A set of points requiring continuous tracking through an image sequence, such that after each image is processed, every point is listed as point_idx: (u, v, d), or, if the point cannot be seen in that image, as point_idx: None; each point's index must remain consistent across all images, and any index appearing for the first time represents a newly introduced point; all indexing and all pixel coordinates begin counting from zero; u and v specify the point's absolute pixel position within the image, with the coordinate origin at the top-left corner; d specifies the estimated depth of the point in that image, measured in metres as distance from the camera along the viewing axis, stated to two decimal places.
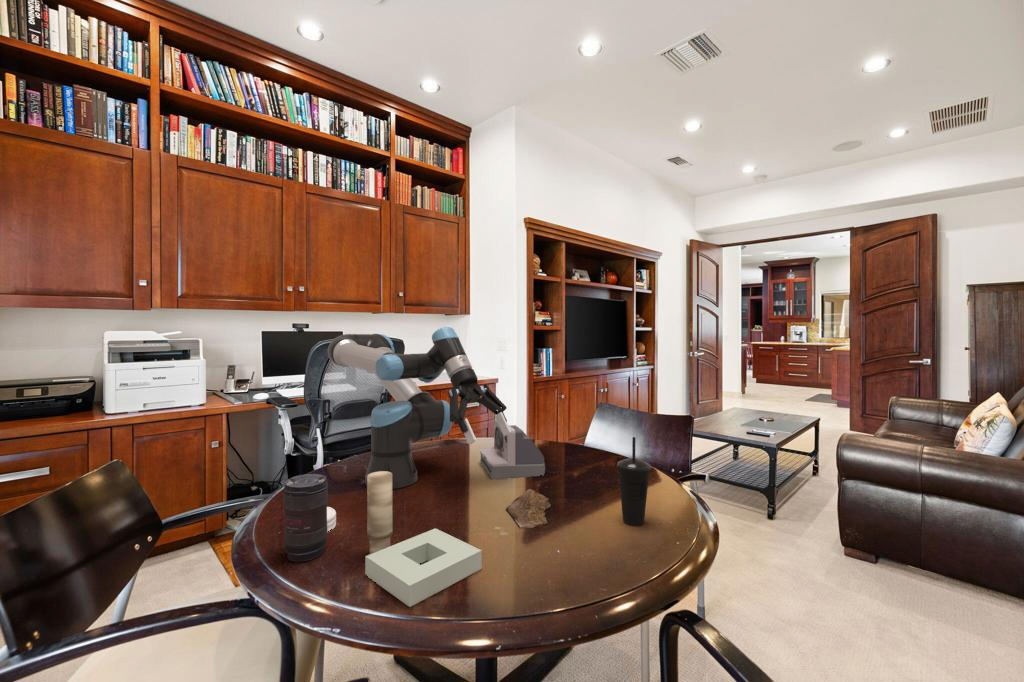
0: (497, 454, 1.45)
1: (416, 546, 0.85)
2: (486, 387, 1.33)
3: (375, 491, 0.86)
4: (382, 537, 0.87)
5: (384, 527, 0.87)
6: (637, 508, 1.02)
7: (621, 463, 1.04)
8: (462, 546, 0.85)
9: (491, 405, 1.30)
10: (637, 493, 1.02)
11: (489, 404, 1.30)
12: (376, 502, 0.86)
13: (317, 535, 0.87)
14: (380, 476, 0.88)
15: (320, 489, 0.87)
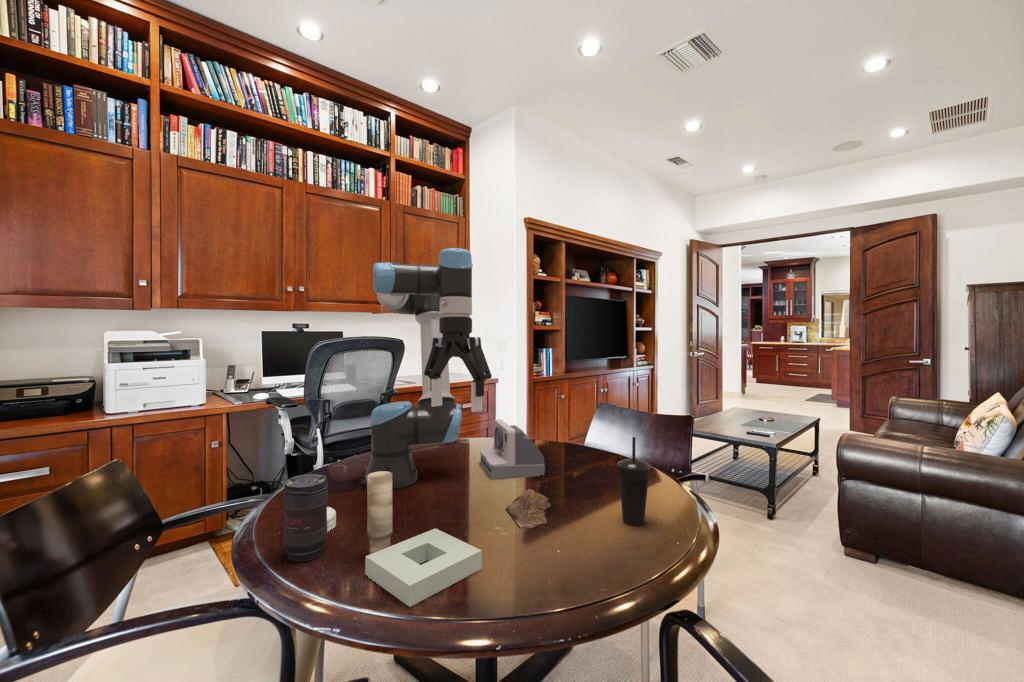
0: (497, 454, 1.45)
1: (416, 546, 0.85)
2: (470, 342, 0.98)
3: (375, 491, 0.86)
4: (382, 537, 0.87)
5: (384, 527, 0.87)
6: (637, 508, 1.02)
7: (621, 463, 1.04)
8: (462, 546, 0.85)
9: None
10: (637, 493, 1.02)
11: None
12: (376, 502, 0.86)
13: (317, 536, 0.87)
14: (380, 476, 0.88)
15: (320, 489, 0.87)
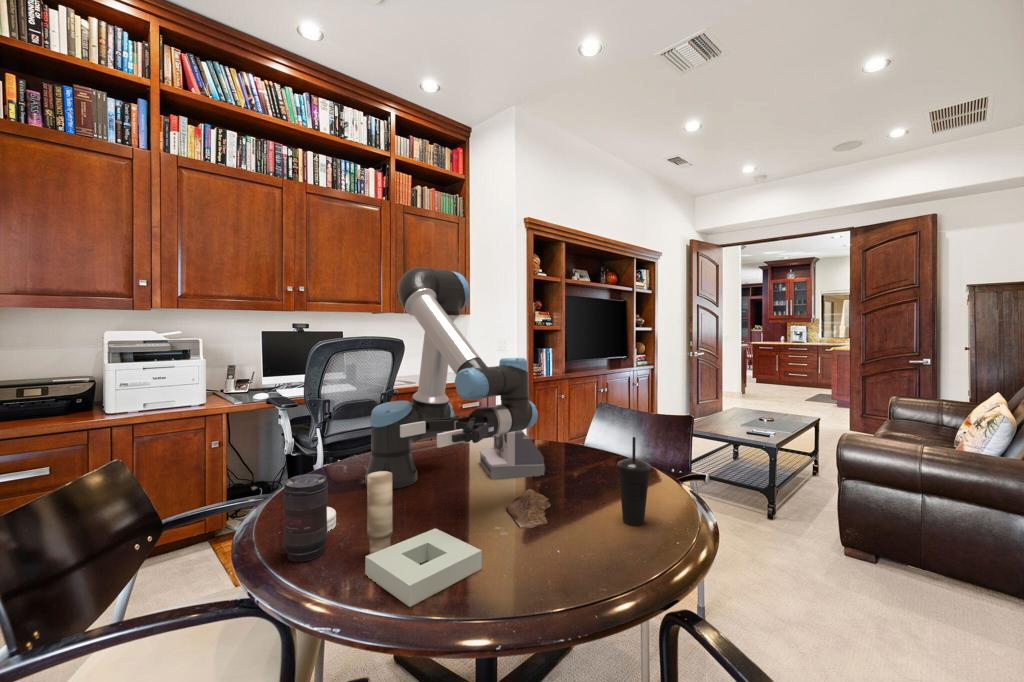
0: (497, 454, 1.45)
1: (416, 546, 0.85)
2: None
3: (375, 491, 0.86)
4: (382, 537, 0.87)
5: (384, 527, 0.87)
6: (637, 508, 1.02)
7: (621, 463, 1.04)
8: (462, 546, 0.85)
9: (438, 428, 1.06)
10: (637, 493, 1.02)
11: (441, 428, 1.06)
12: (376, 502, 0.86)
13: (317, 536, 0.87)
14: (380, 476, 0.88)
15: (320, 489, 0.87)
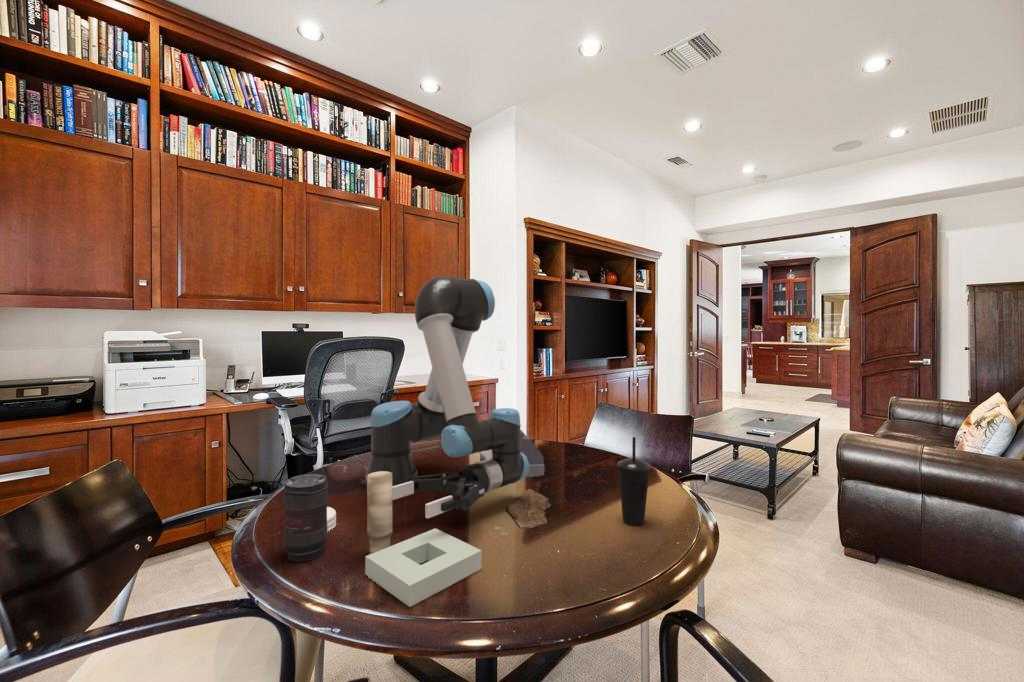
0: None
1: (416, 546, 0.85)
2: None
3: (375, 491, 0.86)
4: (382, 537, 0.87)
5: (384, 527, 0.87)
6: (637, 508, 1.02)
7: (621, 463, 1.04)
8: (462, 546, 0.85)
9: (427, 488, 1.03)
10: (637, 493, 1.02)
11: (430, 487, 1.03)
12: (376, 502, 0.86)
13: (317, 536, 0.87)
14: (380, 476, 0.88)
15: (320, 489, 0.87)
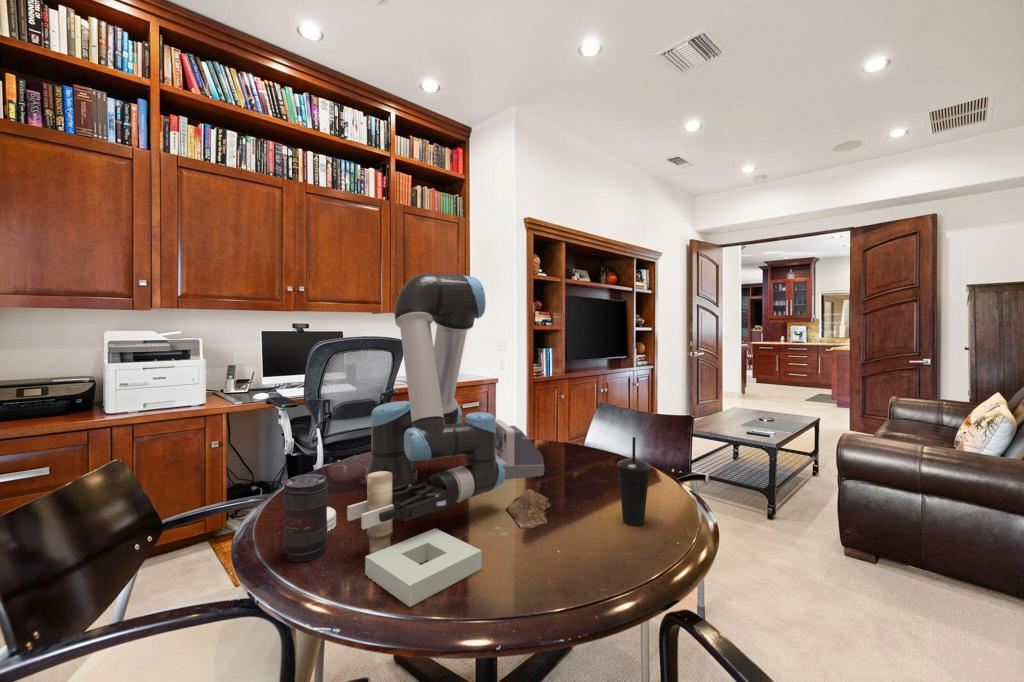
0: (496, 454, 1.45)
1: (416, 546, 0.85)
2: None
3: (375, 490, 0.86)
4: (382, 537, 0.87)
5: (384, 527, 0.87)
6: (637, 508, 1.02)
7: (621, 463, 1.04)
8: (462, 546, 0.85)
9: (395, 503, 0.94)
10: (637, 493, 1.02)
11: (398, 501, 0.94)
12: (376, 502, 0.86)
13: (317, 536, 0.87)
14: (380, 476, 0.88)
15: (320, 489, 0.87)
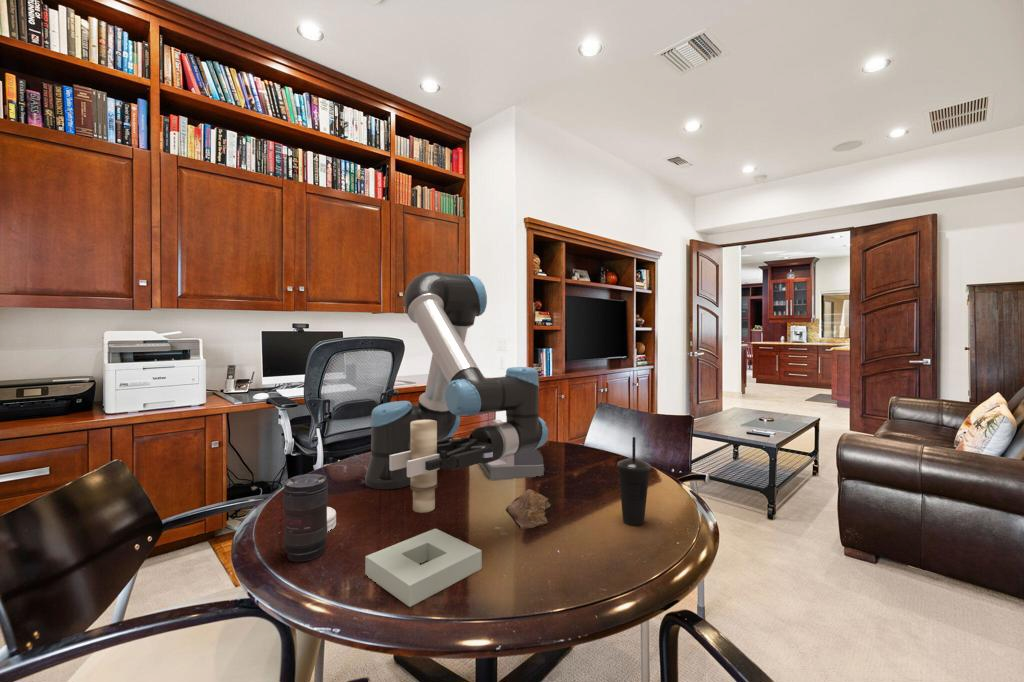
0: None
1: (416, 546, 0.85)
2: None
3: (420, 438, 0.80)
4: (427, 488, 0.80)
5: (429, 477, 0.80)
6: (637, 508, 1.02)
7: (621, 463, 1.04)
8: (462, 546, 0.85)
9: None
10: (637, 493, 1.02)
11: (440, 454, 0.88)
12: (421, 450, 0.80)
13: (317, 535, 0.87)
14: (424, 423, 0.81)
15: (320, 489, 0.87)
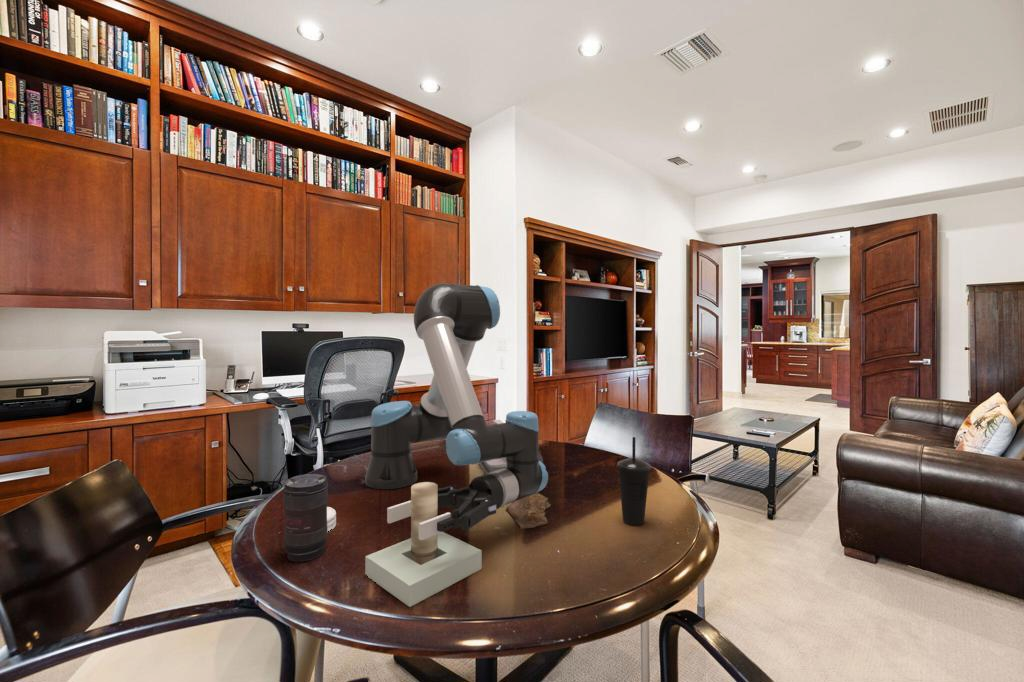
0: None
1: None
2: None
3: (421, 504, 0.80)
4: (428, 554, 0.80)
5: (430, 543, 0.80)
6: (637, 508, 1.02)
7: (621, 463, 1.04)
8: (462, 546, 0.85)
9: None
10: (637, 493, 1.02)
11: (438, 504, 0.89)
12: (422, 516, 0.80)
13: (317, 536, 0.87)
14: (425, 487, 0.81)
15: (320, 489, 0.87)
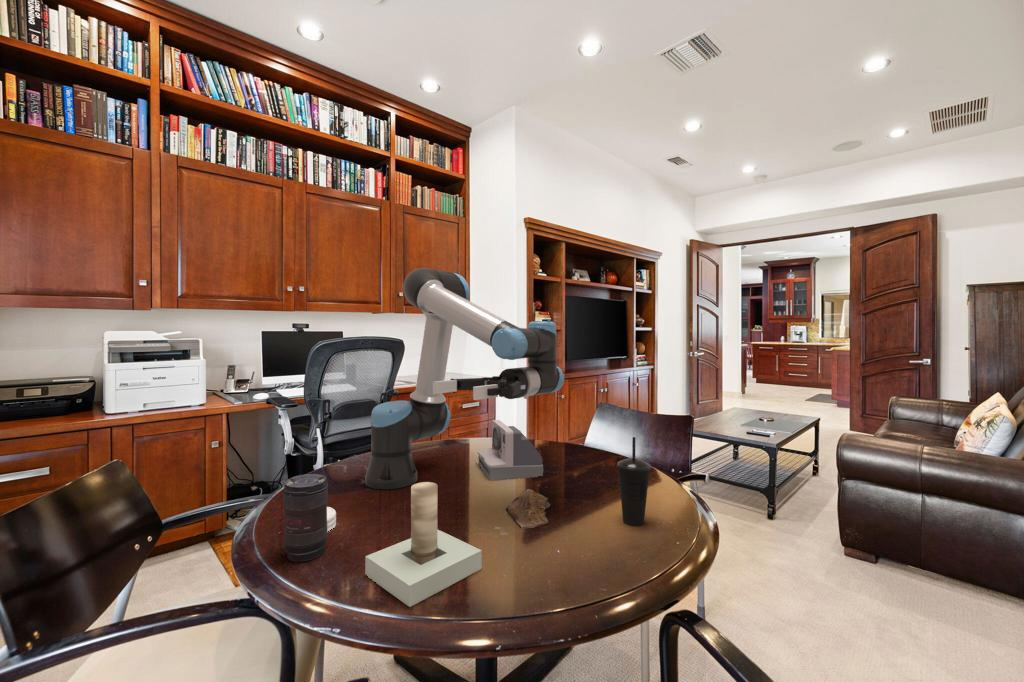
0: (495, 455, 1.44)
1: None
2: None
3: (421, 504, 0.80)
4: (428, 554, 0.80)
5: (430, 543, 0.80)
6: (637, 508, 1.02)
7: (621, 463, 1.04)
8: (462, 546, 0.85)
9: (469, 387, 1.06)
10: (637, 493, 1.02)
11: (472, 387, 1.06)
12: (422, 516, 0.80)
13: (317, 536, 0.87)
14: (425, 487, 0.81)
15: (320, 489, 0.87)
